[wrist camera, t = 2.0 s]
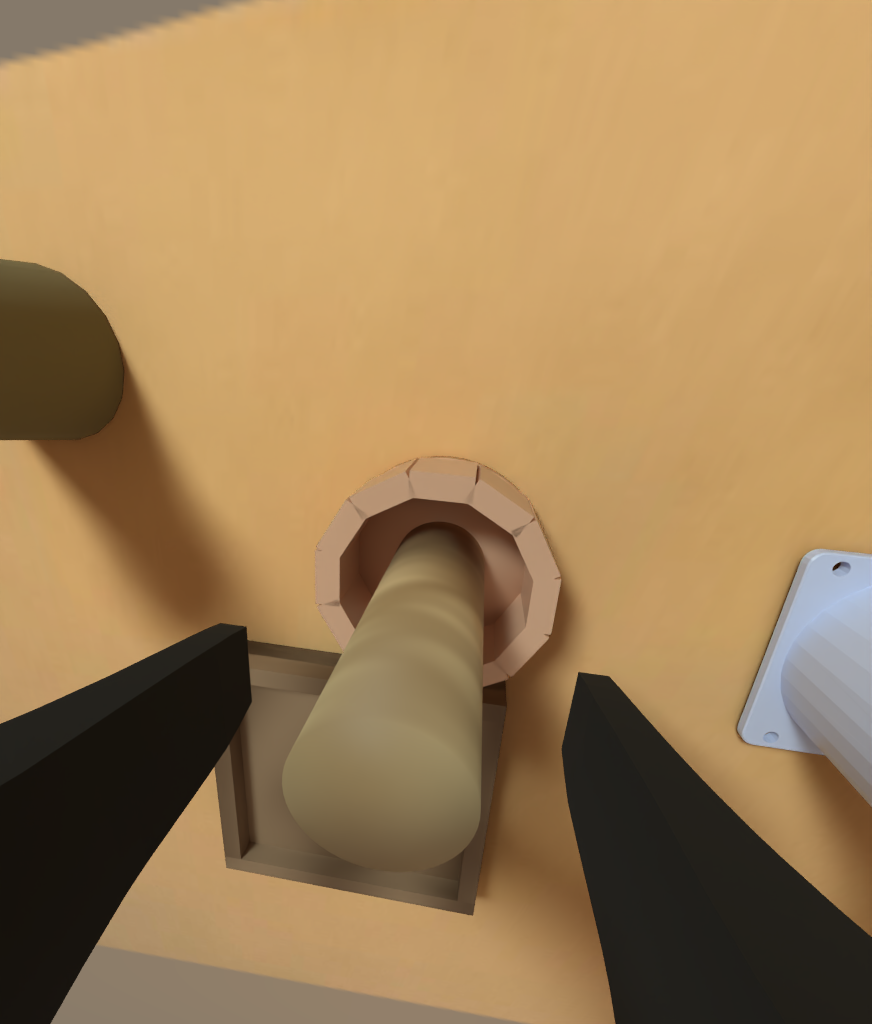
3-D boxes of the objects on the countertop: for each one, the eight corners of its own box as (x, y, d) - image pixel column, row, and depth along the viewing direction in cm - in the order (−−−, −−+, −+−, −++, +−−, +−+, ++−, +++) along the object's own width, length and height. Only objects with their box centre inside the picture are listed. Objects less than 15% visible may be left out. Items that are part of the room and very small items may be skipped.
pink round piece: (561, 467, 14) (578, 487, 12) (529, 655, 16) (537, 708, 14) (344, 446, 15) (313, 460, 12) (342, 629, 17) (316, 675, 15)
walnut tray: (504, 677, 17) (506, 706, 15) (474, 876, 21) (472, 915, 19) (226, 637, 18) (202, 661, 16) (244, 833, 22) (226, 867, 20)
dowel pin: (489, 526, 14) (492, 737, 6) (479, 607, 15) (469, 887, 7) (398, 516, 15) (277, 704, 6) (394, 596, 16) (285, 853, 7)
